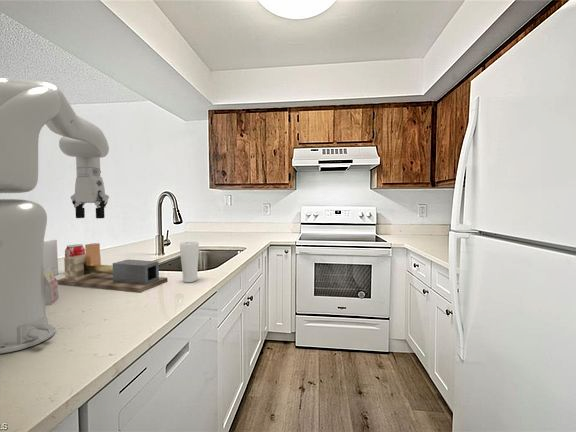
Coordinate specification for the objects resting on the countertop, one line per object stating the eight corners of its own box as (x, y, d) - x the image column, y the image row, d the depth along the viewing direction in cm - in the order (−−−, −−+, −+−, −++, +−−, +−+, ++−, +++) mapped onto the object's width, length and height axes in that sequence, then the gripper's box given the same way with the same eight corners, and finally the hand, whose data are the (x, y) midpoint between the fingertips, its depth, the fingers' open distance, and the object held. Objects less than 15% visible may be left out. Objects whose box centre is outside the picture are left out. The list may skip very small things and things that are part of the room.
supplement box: (59, 274, 123) (57, 239, 122) (34, 280, 114) (32, 242, 113) (46, 272, 126) (44, 238, 125) (20, 277, 118) (18, 241, 117)
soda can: (61, 274, 123) (60, 246, 122) (77, 270, 130) (76, 243, 129) (73, 275, 121) (72, 247, 120) (89, 271, 128) (88, 244, 127)
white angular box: (35, 306, 86) (34, 273, 85) (43, 299, 92) (42, 268, 92) (51, 304, 87) (49, 272, 87) (58, 297, 94) (56, 267, 93)
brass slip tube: (133, 274, 110) (132, 245, 110) (125, 276, 106) (124, 246, 106) (88, 270, 116) (87, 242, 115) (78, 272, 112) (77, 244, 111)
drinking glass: (177, 282, 112) (176, 243, 111) (190, 277, 118) (189, 241, 117) (189, 284, 108) (189, 244, 108) (202, 279, 114) (202, 242, 114)
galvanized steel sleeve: (158, 279, 109) (158, 261, 109) (145, 285, 102) (144, 265, 102) (128, 277, 113) (127, 259, 112) (113, 282, 106) (112, 263, 106)
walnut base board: (167, 281, 112) (167, 277, 112) (140, 292, 99) (140, 288, 99) (90, 274, 122) (90, 271, 122) (55, 284, 109) (55, 280, 109)
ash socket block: (101, 273, 118) (100, 254, 118) (77, 280, 108) (76, 259, 108) (89, 272, 120) (88, 253, 119) (65, 279, 110) (64, 258, 110)
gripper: (115, 173, 112) (116, 217, 113) (80, 174, 116) (81, 217, 117) (97, 171, 105) (99, 218, 105) (61, 173, 109) (63, 218, 110)
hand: (90, 218), depth 111 cm, fingers open, 9 cm apart
